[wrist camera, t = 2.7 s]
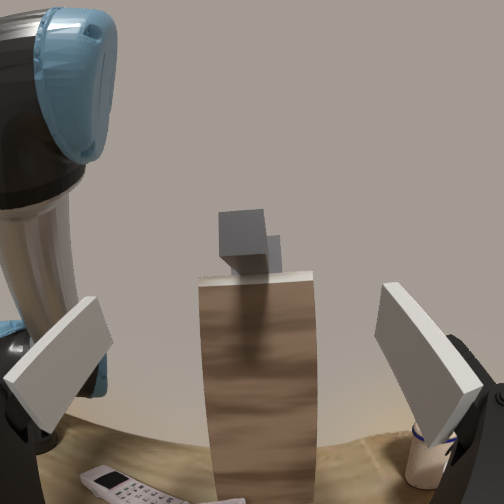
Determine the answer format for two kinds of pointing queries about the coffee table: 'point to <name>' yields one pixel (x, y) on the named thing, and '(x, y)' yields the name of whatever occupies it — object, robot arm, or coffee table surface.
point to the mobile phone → (130, 489)
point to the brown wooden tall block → (260, 385)
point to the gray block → (248, 243)
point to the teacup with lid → (426, 461)
